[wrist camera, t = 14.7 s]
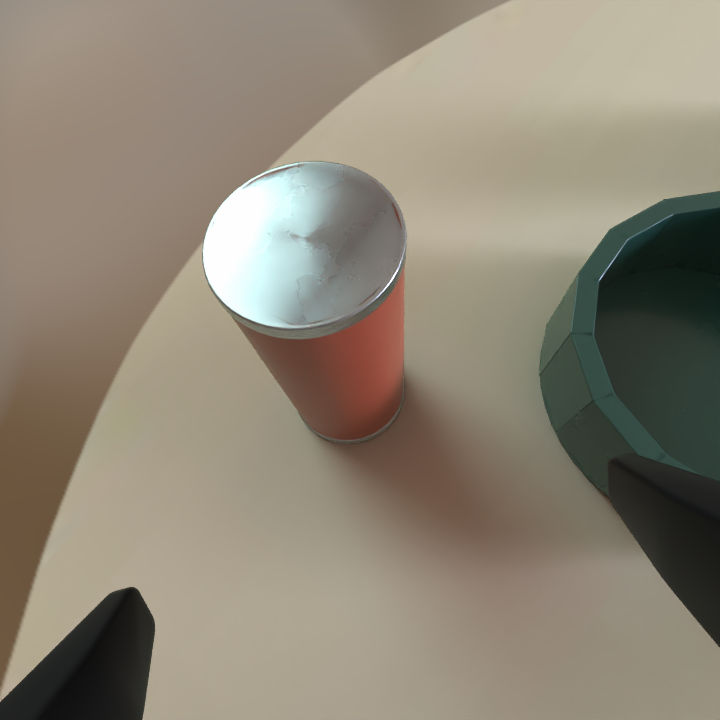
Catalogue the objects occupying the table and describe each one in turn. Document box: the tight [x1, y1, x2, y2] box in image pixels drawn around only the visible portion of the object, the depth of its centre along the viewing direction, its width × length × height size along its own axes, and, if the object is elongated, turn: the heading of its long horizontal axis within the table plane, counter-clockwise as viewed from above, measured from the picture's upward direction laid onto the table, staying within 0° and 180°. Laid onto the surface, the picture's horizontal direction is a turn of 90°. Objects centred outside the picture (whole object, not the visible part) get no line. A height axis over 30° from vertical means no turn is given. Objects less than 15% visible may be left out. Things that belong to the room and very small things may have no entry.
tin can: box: [202, 161, 407, 444], centre depth 19 cm, size 6×6×12 cm
